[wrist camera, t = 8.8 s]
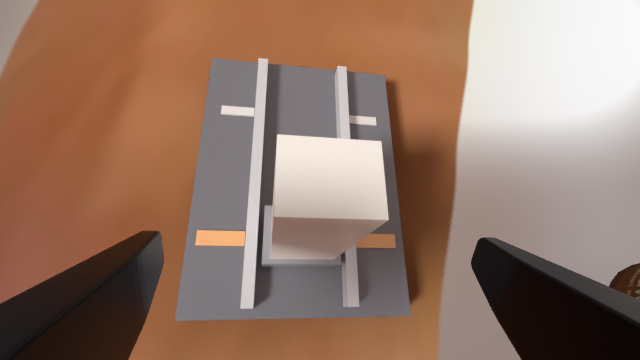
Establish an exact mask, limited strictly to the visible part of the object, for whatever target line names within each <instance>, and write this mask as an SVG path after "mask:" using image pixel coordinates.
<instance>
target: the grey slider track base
mask: <svg viewBox="0 0 640 360" xmlns="http://www.w3.org/2000/svg"><path fill="white" fill-rule="evenodd" d="M277 134H280V135H295V136H310V137H325V138H340V139H355V140H371V141H381V143H382V153H383V164H384V174H385V185H386V195H387V206H388V216H389V220H388V221H387V222H385V223H384V224H383V225H381V226H380V227H378V228H377V229H376V230H374V231H373V232H371V233H370V234H368V235H367V236H366V237H364V238H363V239H361V240H360V241H359V242H357V243H356V244H354V245H353V246H352V247H350V248H349V249H347V250H346V251H345V252H343V253H342V254H341V265H340V266H338V267H263V266H262V248H263V230H264V211H265V205H266V206H273V191H274V176H275V160H276V145H277ZM395 316H411V311H410V302H409V293H408V284H407V275H406V266H405V256H404V247H403V238H402V229H401V220H400V210H399V201H398V192H397V183H396V174H395V165H394V155H393V146H392V137H391V128H390V119H389V110H388V100H387V91H386V82H385V75H378V74H368V73H358V72H347V70H346V67H342V66H337V70H327V69H317V68H307V67H297V66H286V65H276V64H268V59H263V58H259V60H258V63H256V62H246V61H236V60H225V59H215V58H212V62H211V69H210V76H209V83H208V90H207V97H206V105H205V112H204V119H203V126H202V133H201V140H200V147H199V154H198V161H197V168H196V175H195V182H194V189H193V196H192V203H191V210H190V217H189V225H188V232H187V239H186V246H185V253H184V260H183V267H182V274H181V281H180V288H179V295H178V302H177V309H176V316H175V321H188V320H240V319H291V318H343V317H395Z"/></svg>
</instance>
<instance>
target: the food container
mask: <svg viewBox="0 0 640 360" xmlns="http://www.w3.org/2000/svg"><path fill="white" fill-rule="evenodd" d="M609 287H610V288H613V289H615V290H617V291H620V292H622V293H624V294H627V295H629V296H631V297H634V298H636V299H638V300H639V301H640V263H639V264H635V265H631V266H630V267H627V268H626V269H624V270H622V271H620V272H618V273H617V275H616V276H615V278H614V279H613V280H612V281H611V283H610V286H609Z"/></svg>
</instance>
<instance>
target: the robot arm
mask: <svg viewBox="0 0 640 360" xmlns="http://www.w3.org/2000/svg"><path fill="white" fill-rule="evenodd" d="M163 264H164V253H163V244H162V236H161V233H160V232H159V231H141V232H139V233H137V234H135V235H133V236H131V237H129V238H128V239H126V240H124V241H122V242H120V243H118V244H116V245H114V246H112V247H110V248H108V249H106V250H104V251H102V252H100V253H98V254H96V255H94V256H92V257H90V258H88V259H87V260H85V261H83V262H81V263H79V264H77V265H75V266H73V267H71V268H69V269H67V270H65V271H63V272H61V273H59V274H57V275H55V276H53V277H51V278H49V279H48V280H46V281H44V282H42V283H40V284H38V285H36V286H34V287H32V288H30V289H28V290H26V291H24V292H22V293H20V294H18V295H16V296H14V297H12V298H10V299H8V300H7V301H5V302H3V303H1V304H0V360H128V359H129V357H130V354H131V352H132V350H133V348H134V346H135V343H136V341H137V339H138V337H139V335H140V332H141V330H142V328H143V325H144V323H145V321H146V318H147V315H148V312H149V309H150V306H151V303H152V300H153V296H154V293H155V290H156V287H157V284H158V281H159V278H160V274H161V271H162V268H163ZM471 266H472V269H473V271H474V273H475V276H476V278H477V280H478V282H479V284H480V286H481V288H482V290H483V292H484V294H485V296H486V298H487V300H488V303H489V305H490V307H491V308H492V311H493V312H494V314H495V316H496V318H497V320H498V322H499V323H500V325H501V327H502V328H503V330H504V331H505V333H506V334H507V336H508V338H509V340H510V341H511V343H512V345H513V347H514V348H515V350H516V351H517V353H518V355H519V356H520V358H521V360H640V301H639V300H638V299H636V298H634V297H631V296H629V295H627V294H624V293H622V292H620V291H617V290H615V289H613V288H610V287H608V286H606V285H603V284H601V283H599V282H596V281H594V280H592V279H589V278H587V277H585V276H582V275H580V274H577V273H575V272H573V271H571V270H568V269H566V268H563V267H561V266H559V265H557V264H554V263H552V262H550V261H547V260H545V259H543V258H540V257H538V256H536V255H534V254H531V253H529V252H527V251H524V250H522V249H520V248H517V247H515V246H513V245H510V244H508V243H506V242H503V241H501V240H498V239H496V238H481V239H479V240H478V242H477V245H476V248H475V251H474V254H473V257H472V260H471Z"/></svg>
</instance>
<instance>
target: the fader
mask: <svg viewBox="0 0 640 360" xmlns="http://www.w3.org/2000/svg"><path fill="white" fill-rule="evenodd" d="M388 220H389V216H388V206H387V195H386V185H385V174H384V164H383V153H382V143H381V141H371V140H355V139H340V138H325V137H310V136H295V135H280V134H277V145H276V160H275V176H274V191H273V206H266V205H265V211H264V230H263V248H262V266H263V267H338V266H340V265H341V254H342V253H343V252H345V251H346V250H347V249H349V248H350V247H352V246H353V245H354V244H356V243H357V242H359V241H360V240H361V239H363V238H364V237H366V236H367V235H368V234H370V233H371V232H373V231H374V230H376V229H377V228H378V227H380V226H381V225H383V224H384V223H385V222H387V221H388Z"/></svg>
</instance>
